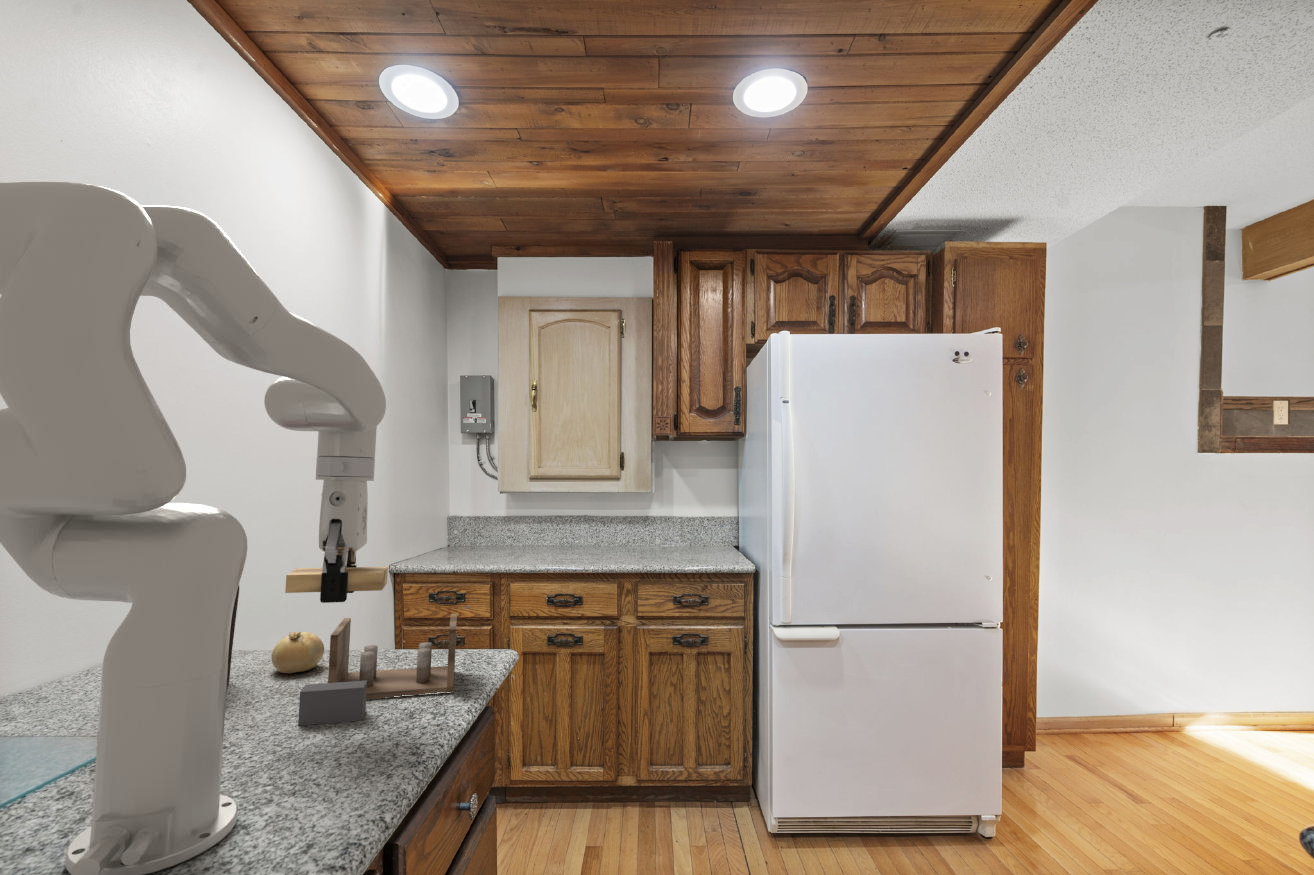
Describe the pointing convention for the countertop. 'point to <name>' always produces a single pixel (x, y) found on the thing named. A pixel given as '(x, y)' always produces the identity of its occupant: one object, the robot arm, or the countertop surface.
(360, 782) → the countertop surface
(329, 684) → the block
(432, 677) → the shelf cradle
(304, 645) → the onion
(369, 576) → the oak board
